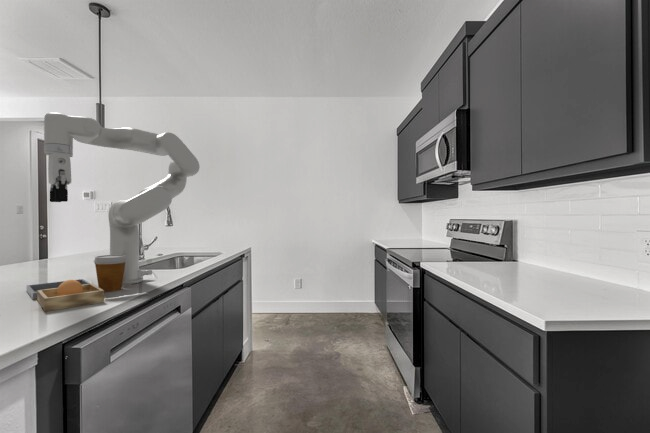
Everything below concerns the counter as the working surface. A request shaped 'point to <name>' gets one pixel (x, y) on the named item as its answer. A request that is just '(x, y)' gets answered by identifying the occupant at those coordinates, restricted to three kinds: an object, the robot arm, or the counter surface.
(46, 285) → the container
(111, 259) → the disposable coffee cup
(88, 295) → the tray
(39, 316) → the counter surface
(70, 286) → the ball
